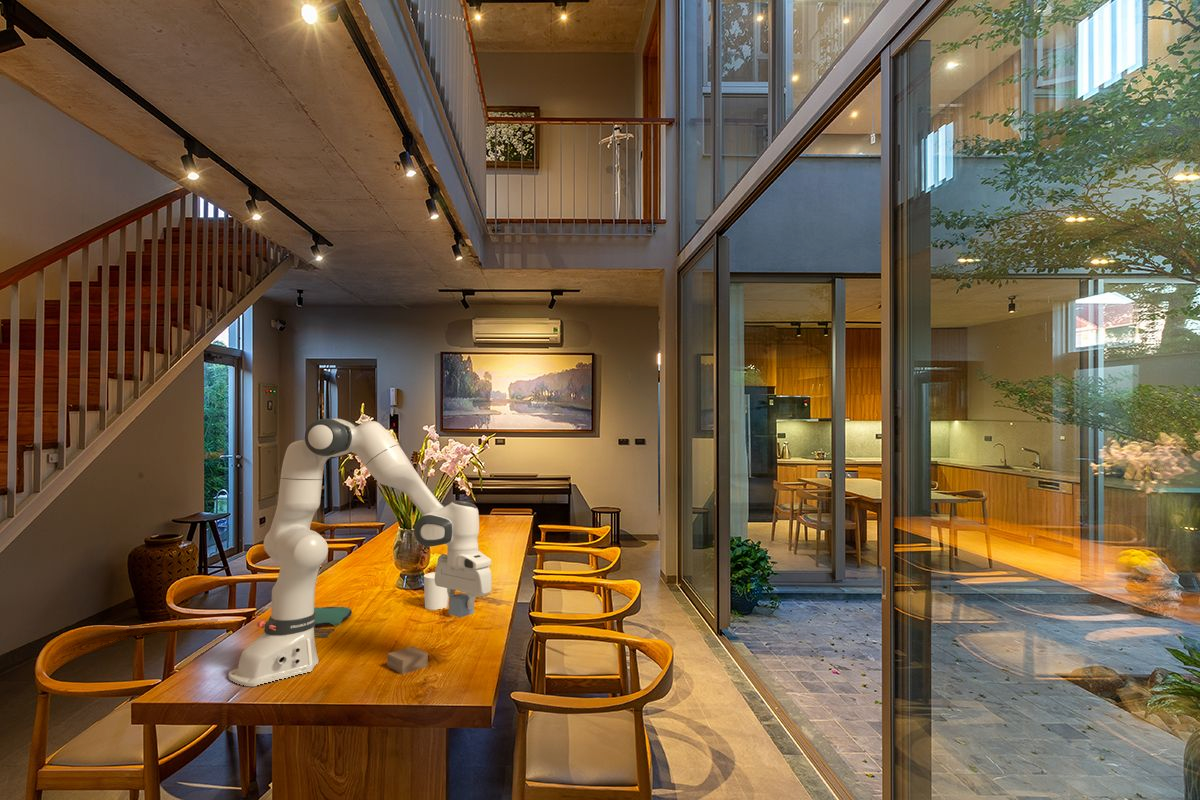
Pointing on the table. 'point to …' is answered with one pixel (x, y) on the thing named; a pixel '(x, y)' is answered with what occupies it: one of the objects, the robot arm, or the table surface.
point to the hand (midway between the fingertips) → (461, 606)
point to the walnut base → (407, 660)
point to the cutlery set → (330, 617)
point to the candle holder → (434, 593)
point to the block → (459, 605)
